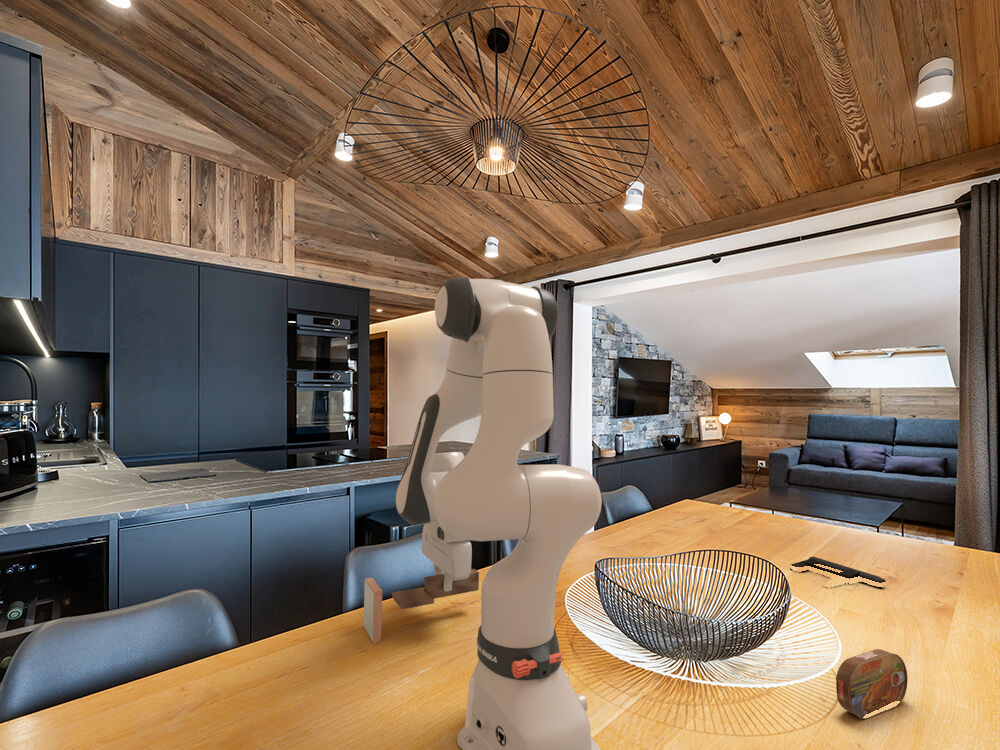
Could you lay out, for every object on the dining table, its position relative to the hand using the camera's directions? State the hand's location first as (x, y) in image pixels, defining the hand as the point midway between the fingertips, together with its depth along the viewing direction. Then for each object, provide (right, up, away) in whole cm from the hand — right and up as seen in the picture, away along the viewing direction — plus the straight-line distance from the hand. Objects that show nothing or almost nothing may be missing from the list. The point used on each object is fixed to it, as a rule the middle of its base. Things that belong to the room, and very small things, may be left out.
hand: (443, 587), depth 111 cm
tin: (+73, -8, -29) cm, 79 cm away
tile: (-14, -7, -7) cm, 17 cm away
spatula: (-1, -2, 0) cm, 2 cm away
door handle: (+104, -10, +28) cm, 108 cm away
